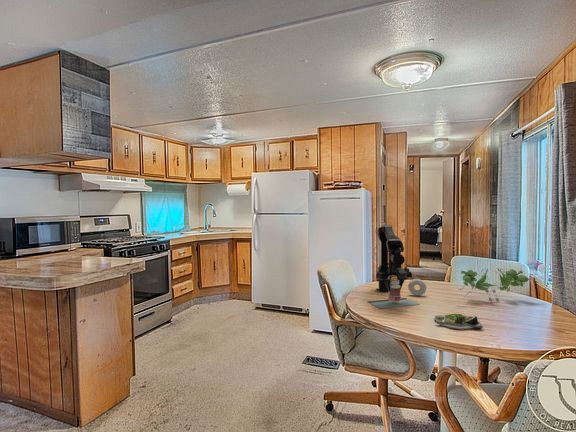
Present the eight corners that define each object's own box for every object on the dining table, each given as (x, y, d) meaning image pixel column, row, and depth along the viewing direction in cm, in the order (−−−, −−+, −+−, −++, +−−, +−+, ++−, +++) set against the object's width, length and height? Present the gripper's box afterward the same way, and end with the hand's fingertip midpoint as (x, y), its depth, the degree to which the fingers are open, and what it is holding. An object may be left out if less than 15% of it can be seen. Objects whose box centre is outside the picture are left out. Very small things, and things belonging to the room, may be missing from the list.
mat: (369, 303, 178) (369, 302, 178) (408, 299, 184) (408, 299, 184) (379, 308, 168) (379, 308, 168) (419, 304, 174) (419, 304, 174)
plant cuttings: (453, 310, 186) (469, 294, 168) (445, 282, 196) (459, 265, 178) (516, 309, 185) (539, 294, 167) (505, 282, 195) (525, 264, 177)
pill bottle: (402, 302, 174) (402, 280, 173) (392, 302, 172) (392, 281, 172) (396, 298, 180) (396, 278, 179) (386, 299, 178) (386, 279, 178)
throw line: (367, 302, 180) (367, 301, 180) (405, 298, 186) (405, 297, 186) (368, 302, 179) (368, 302, 179) (406, 299, 185) (406, 298, 185)
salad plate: (445, 333, 135) (445, 322, 135) (423, 319, 153) (423, 309, 153) (489, 331, 137) (489, 320, 137) (462, 317, 155) (462, 307, 154)
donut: (426, 295, 192) (426, 278, 191) (426, 297, 188) (426, 280, 188) (408, 294, 195) (408, 277, 195) (408, 295, 192) (408, 279, 192)
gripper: (387, 265, 165) (387, 296, 166) (418, 263, 170) (418, 293, 170) (375, 262, 176) (375, 290, 176) (405, 260, 181) (405, 288, 181)
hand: (394, 290), depth 176 cm, fingers closed on pill bottle, 6 cm apart
